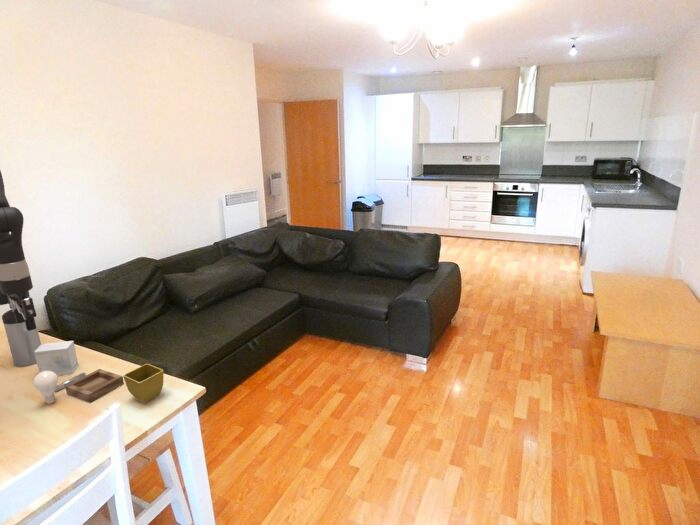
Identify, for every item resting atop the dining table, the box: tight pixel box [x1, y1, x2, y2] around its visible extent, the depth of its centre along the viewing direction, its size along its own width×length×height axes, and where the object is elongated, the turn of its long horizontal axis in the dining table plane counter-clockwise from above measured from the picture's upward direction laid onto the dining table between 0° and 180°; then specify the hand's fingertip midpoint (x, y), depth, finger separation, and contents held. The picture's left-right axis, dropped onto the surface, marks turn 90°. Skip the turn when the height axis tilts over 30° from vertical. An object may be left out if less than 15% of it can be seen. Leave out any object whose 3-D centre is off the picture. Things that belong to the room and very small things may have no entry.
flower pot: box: [123, 363, 164, 403], centre depth 135 cm, size 9×9×9 cm
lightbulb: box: [32, 371, 59, 404], centre depth 132 cm, size 6×6×11 cm
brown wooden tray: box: [64, 368, 125, 404], centre depth 141 cm, size 12×12×3 cm
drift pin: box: [54, 372, 87, 393], centre depth 144 cm, size 11×2×2 cm, turn 155°
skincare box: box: [34, 340, 80, 376], centre depth 151 cm, size 10×6×10 cm, turn 104°
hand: (26, 326), depth 128 cm, fingers open, 8 cm apart
